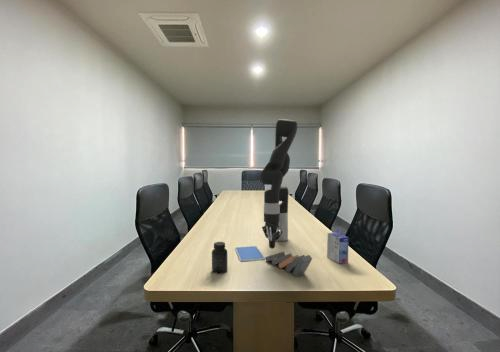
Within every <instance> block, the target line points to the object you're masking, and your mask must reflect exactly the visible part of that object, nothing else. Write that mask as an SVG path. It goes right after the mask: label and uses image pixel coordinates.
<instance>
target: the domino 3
mask: <svg viewBox="0 0 500 352" xmlns="http://www.w3.org/2000/svg"><path fill="white" fill-rule="evenodd" d="M299 256H300V255H299V254H296V255H292V257H289V258H288V259H286V260H284V261H283V262H281V263H278V264H277V265H278V267H279V269H282V268H286V267H287V266H288V265H289V264H290V263H291V262H292V261H293V260H294V259H295V258H296V257H299Z"/></svg>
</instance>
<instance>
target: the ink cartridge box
mask: <svg viewBox="0 0 500 352" xmlns="http://www.w3.org/2000/svg"><path fill="white" fill-rule="evenodd" d="M343 231H344V230H342V229H339V228H338V229H337V230H336V232H327V239H326V240H327V241H326V242H327V246H326V247H327V249H326V257H328V259H331V260H332V261H334V262H336V263H337V264H348V263H349V237H348V236H346V235H343Z"/></svg>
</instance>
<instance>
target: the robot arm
mask: <svg viewBox="0 0 500 352" xmlns="http://www.w3.org/2000/svg"><path fill="white" fill-rule="evenodd" d="M276 121H277V122H276V124H275V136H274V139H275V141H274V143H275V144H274V145H275V146H274V149H273V151H272V153H271V155H270V158H269V161H268V162H267V164H266V165H265V166H264V168H263V169H262V171H261V173H260V175H259V177H260V182H261V183H262V184H263V185H265V186H266V185H267V186H268V185H269V186H271V187H270V189H267V190H264V193H263V199H264V200H263V203H264V204H263V222H264V226H261V229H262V231H263V234H264V236H265V238H266V239H268V247H269V249H272V250H273V249H275V247H276V242H285V241H286V242H287V241H288V240H289V210H288V209H289V189H288V187H287V186H285V185H283V186H282V183H283V179H284V177H285V176H286V174H287V173H288V172H289V170H290V163H291V162H290V161H291V158H290V154H289V150H290V148H291V145H292V144H293V141H294V139H295V137H296V134H297V132H298V122H297V121H296V120H292V119H286V118H285V119H284V118H279V119H277V120H276ZM283 138H285V139H284V140H283ZM280 202H281V203H280Z"/></svg>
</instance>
